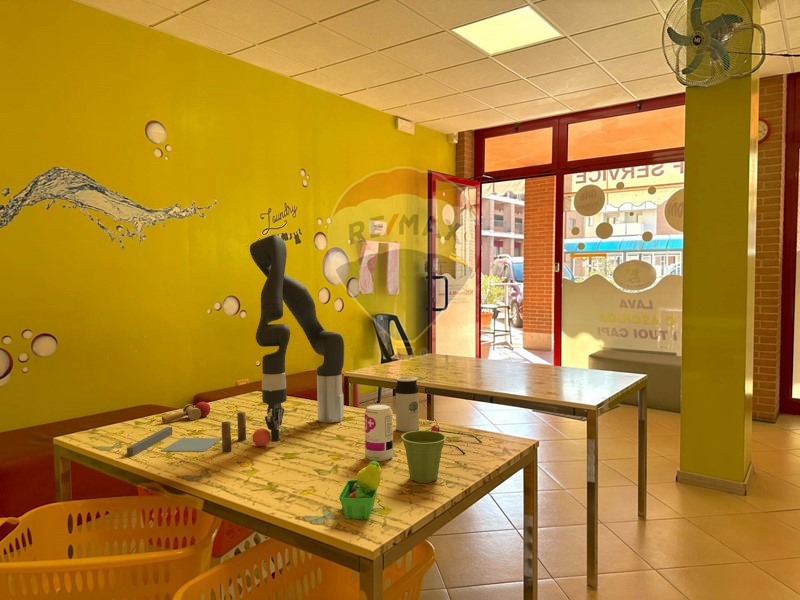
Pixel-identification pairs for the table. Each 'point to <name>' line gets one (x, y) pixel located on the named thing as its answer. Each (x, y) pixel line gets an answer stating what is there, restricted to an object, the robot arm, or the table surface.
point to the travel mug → (407, 404)
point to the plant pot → (423, 454)
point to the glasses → (450, 432)
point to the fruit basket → (361, 492)
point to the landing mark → (192, 444)
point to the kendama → (189, 412)
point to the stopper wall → (149, 441)
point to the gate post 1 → (226, 437)
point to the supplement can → (378, 432)
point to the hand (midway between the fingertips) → (275, 441)
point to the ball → (261, 437)
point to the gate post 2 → (241, 426)
